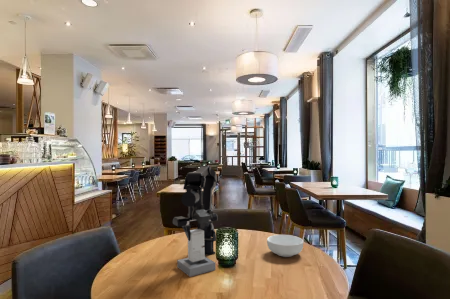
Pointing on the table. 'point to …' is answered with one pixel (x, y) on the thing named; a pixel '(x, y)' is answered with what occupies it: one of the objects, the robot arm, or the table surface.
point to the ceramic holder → (196, 266)
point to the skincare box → (196, 245)
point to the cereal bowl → (285, 245)
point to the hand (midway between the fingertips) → (195, 239)
